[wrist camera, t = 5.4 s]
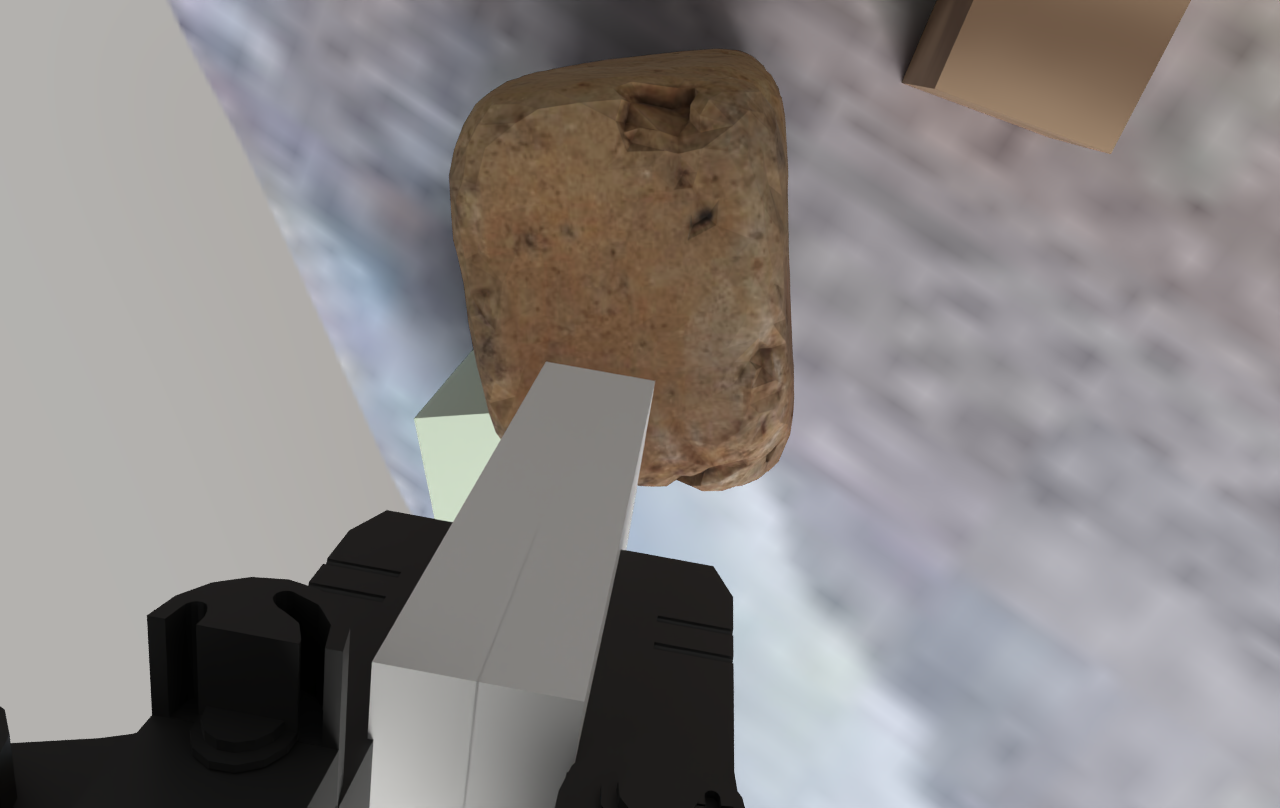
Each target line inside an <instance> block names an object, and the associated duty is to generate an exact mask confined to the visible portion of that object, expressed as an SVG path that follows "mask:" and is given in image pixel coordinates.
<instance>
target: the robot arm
mask: <svg viewBox="0 0 1280 808" xmlns="http://www.w3.org/2000/svg"><path fill="white" fill-rule="evenodd" d="M654 385H655V381H652V380H647V379H641V378H635V377H630V376H624V375H618V374H613V373H607V372H602V371H596V370H590V369H585V368H579V367H573V366H568V365H562V364H556V363H551V362H545V364H544V366H543V368H542V369H541V371H540V373H539V375H538V376H537V378H536V380H535V381H534V383H533V385H532V387H531V388H530V390H529V392H528V394H527V395H526V397H525V399H524V400H523V402H522V404H521V406H520V407H519V409H518V411H517V413H516V414H515V416H514V418H513V419H512V421H511V423H510V425H509V426H508V428H507V430H506V432H505V433H504V435H503V437H502V438H501V440H500V442H499V444H498V445H497V447H496V449H495V450H494V452H493V454H492V456H491V457H490V459H489V461H488V463H487V464H486V466H485V468H484V469H483V471H482V473H481V475H480V476H479V478H478V480H477V482H476V483H475V485H474V487H473V488H472V490H471V492H470V494H469V495H468V497H467V499H466V501H465V502H464V504H463V506H462V507H461V509H460V511H459V513H458V514H457V516H456V518H455V520H454V521H453V522H448V521H443V520H438V519H432V518H427V517H421V516H416V515H410V514H404V513H399V512H393V511H388V510H387V511H385V512H383V513H381V514H379V515H377V516H375V517H374V518H372V519H370V520H368V521H366V522H364V523H362V524H360V525H359V526H357V527H355V528H353V529H351V530H350V531H349V532H348V533H347V534H346V535H345V537H344V538H343V539H342V540H341V542H340V543H339V544H338V546H337V547H336V548H335V549H334V551H333V552H332V553H331V555H330V556H329V557H328V559H327V563H326V564H323V565H322V566H321V567H320V569H319V570H318V571H317V572H316V574H315V575H314V577H313V578H312V579H311V580H310V581H309V585H308V586H307V585H304V584H301V583H298V582H295V581H292V580H287V579H272V578H256V577H249V578H241V579H234V580H227V581H220V582H213V583H210V584H207V585H204V586H201V587H198V588H196V589H193V590H190V591H187V592H184V593H182V594H179V595H176V596H174V597H173V598H172V599H170V600H169V601H167V602H166V603H164V604H163V605H161V606H160V607H159V608H157V609H156V610H154V611H153V612H151V613H150V614H149V615H147V624H148V644H149V663H150V682H151V701H152V716H151V717H150V718H149V719H148V720H147V722H146V723H145V724H144V725H143V726H142V727H141V729H140V730H139V731H138V732H137V733H134V734H129V735H121V736H113V737H106V738H96V739H78V740H61V741H43V742H26V743H10V735H9V730H8V725H7V719H6V714H5V710H4V709H3V708H2V707H0V808H745V807H744V803H743V799H742V797H741V795H740V794H739V793H738V792H737V786H736V780H735V774H734V679H733V663H732V662H733V636H732V633H733V596H732V595H731V593H730V592H729V590H728V589H727V587H726V585H725V584H724V582H723V581H722V579H721V578H720V576H719V574H718V573H717V571H716V570H715V568H714V567H713V566H709V565H703V564H698V563H692V562H687V561H681V560H676V559H670V558H665V557H659V556H654V555H648V554H643V553H637V552H632V551H626V548H627V542H628V536H629V530H630V525H631V519H632V513H633V507H634V501H635V496H636V490H637V484H638V478H639V472H640V466H641V461H642V455H643V449H644V443H645V437H646V431H647V426H648V420H649V414H650V408H651V402H652V397H653V391H654Z"/></svg>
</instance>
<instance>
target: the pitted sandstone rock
mask: <svg viewBox="0 0 1280 808" xmlns="http://www.w3.org/2000/svg"><path fill="white" fill-rule="evenodd" d="M449 183H450V200H451V216H452V229H453V241H454V244H455V248H456V252H457V256H458V260H459V265H460V269H461V274H462V278H463V282H464V290H465V298H466V306H467V314H468V323H469V328H470V333H471V338H472V344H473V349H474V354H475V359H476V365H477V369H478V372H479V376H480V379H481V383H482V387H483V391H484V395H485V399H486V403H487V407H488V411H489V415H490V418H491V421H492V423H493V426H494V429H495V432H496V434H497V435H498V436H499V438H500V439H501V438H502V437H503V435H504V433H505V432H506V430H507V428H508V426H509V425H510V423H511V421H512V419H513V418H514V416H515V414H516V413H517V411H518V409H519V407H520V406H521V404H522V402H523V400H524V399H525V397H526V395H527V394H528V392H529V390H530V388H531V387H532V385H533V383H534V381H535V380H536V378H537V376H538V375H539V373H540V371H541V369H542V368H543V366H544V364H545V362H551V363H556V364H562V365H568V366H573V367H579V368H585V369H590V370H596V371H602V372H607V373H613V374H618V375H624V376H630V377H635V378H641V379H647V380H652V381H655V385H654V391H653V397H652V402H651V408H650V414H649V420H648V426H647V431H646V437H645V443H644V449H643V455H642V461H641V466H640V472H639V478H638V484H637V485H638V486H668V485H669V484H670V483H672V482H673V481H675V480H678V481H681V482H683V483H685V484H688V485H690V486H692V487H695V488H697V489H699V490H701V491H723V490H726V489H729V488H732V487H735V486H742V485H745V484H747V483H750V482H752V481H754V480H757V479H759V478H760V477H761V476H762V475H764V474H765V473H766V472H767V471H769V470H770V469H771V468H772V467H773V466H774V465H775V464H776V463H777V462H778V461H779V459H780V457H781V454H782V452H783V450H784V447H785V445H786V443H787V440H788V438H789V436H790V431H791V424H792V418H793V407H794V364H793V351H792V327H791V302H790V267H789V233H788V194H787V192H788V159H787V142H786V125H785V114H784V108H783V103H782V98H781V96H780V92H779V88H778V86H777V85H776V83H775V81H774V79H773V78H772V76H771V74H769V73H768V72H767V71H766V69H765V67H764V66H763V65H762V64H761V63H760V62H759V61H757V60H756V59H755V58H754V57H753V56H751V55H749V54H747V53H744V52H742V51H737V50H728V49H704V50H692V51H680V52H671V53H662V54H653V55H645V56H636V57H627V58H618V59H608V60H602V61H596V62H590V63H583V64H578V65H572V66H566V67H562V68H557V69H551V70H547V71H541V72H535V73H532V74H528V75H525V76H522V77H520V78H517V79H513V80H510V81H507V82H506V83H504V84H502V85H501V86H499V87H497V88H496V89H494V90H493V91H491V92H490V93H488V94H487V95H486V96H485V97H483V98H482V99H481V100H480V101H479V102H478V103H477V104H476V105H475V106H474V108H473V110H472V111H471V113H470V115H469V116H468V118H467V120H466V121H465V123H464V125H463V127H462V130H461V133H460V135H459V138H458V141H457V143H456V146H455V149H454V153H453V158H452V163H451V168H450V173H449Z"/></svg>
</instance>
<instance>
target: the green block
mask: <svg viewBox="0 0 1280 808" xmlns="http://www.w3.org/2000/svg"><path fill="white" fill-rule="evenodd" d="M414 421H415V425H416V430H417V435H418V440H419V445H420V450H421V455H422V459H423V464H424V469H425V474H426V479H427V484H428V489H429V494H430V498H431V503H432V508H433V513H434V518H435V519H438V520H443V521H448V522H453V521H454V520H455V518H456V516H457V514H458V513H459V511H460V509H461V507H462V506H463V504H464V502H465V501H466V499H467V497H468V495H469V494H470V492H471V490H472V488H473V487H474V485H475V483H476V482H477V480H478V478H479V476H480V475H481V473H482V471H483V469H484V468H485V466H486V464H487V463H488V461H489V459H490V457H491V456H492V454H493V452H494V450H495V449H496V447H497V445H498V444H499V442H500V440H501V439H500V438H499V436H498V435H497V434H496V432H495V429H494V426H493V423H492V421H491V418H490V415H489V411H488V407H487V403H486V399H485V395H484V391H483V387H482V383H481V379H480V376H479V372H478V369H477V365H476V359H475V354H474V350H472V351H471V352H470V353H469V355H468V356H467V357H466V358H465V359H464V360H463V362H462V363H461V364H460V365H459V366H458V367H457V369H456V370H455V371H454V372H453V373H452V375H451V376H450V377H449V378H448V379H447V380H446V382H445V383H444V384H443V385H442V386H441V387H440V389H439V390H438V391H437V392H436V393H435V394H434V396H433V397H432V398H431V399H430V400H429V402H428V403H427V404H426V405H425V406H424V407H423V409H422V410H421V411H420V412H419V413H418V414H417V416H416V417H415V418H414Z"/></svg>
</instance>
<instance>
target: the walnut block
mask: <svg viewBox="0 0 1280 808" xmlns="http://www.w3.org/2000/svg"><path fill="white" fill-rule="evenodd" d="M1190 1H1191V0H937V1H936V3H935V6H934V8H933V10H932V13H931V15H930V17H929V20H928V22H927V24H926V27H925V29H924V31H923V34H922V36H921V39H920V41H919V43H918V46H917V48H916V50H915V53H914V55H913V57H912V60H911V62H910V64H909V67H908V69H907V71H906V74H905V76H904V79H903V81H902V83H904V84H906V85H909V86H912V87H914V88H917V89H920V90H922V91H925V92H928V93H931V94H933V95H936V96H939V97H941V98H944V99H947V100H950V101H952V102H955V103H958V104H960V105H963V106H966V107H968V108H971V109H974V110H977V111H979V112H982V113H985V114H987V115H990V116H993V117H995V118H998V119H1001V120H1004V121H1006V122H1009V123H1012V124H1014V125H1017V126H1020V127H1023V128H1025V129H1028V130H1031V131H1033V132H1036V133H1039V134H1041V135H1044V136H1047V137H1050V138H1053V139H1057V140H1060V141H1064V142H1068V143H1071V144H1075V145H1079V146H1083V147H1086V148H1090V149H1094V150H1097V151H1101V152H1105V153H1108V154H1111V153H1112V151H1113V149H1114V147H1115V145H1116V143H1117V141H1118V139H1119V137H1120V135H1121V133H1122V132H1123V130H1124V128H1125V126H1126V124H1127V122H1128V120H1129V118H1130V116H1131V114H1132V112H1133V110H1134V109H1135V107H1136V105H1137V103H1138V101H1139V99H1140V97H1141V95H1142V93H1143V91H1144V89H1145V87H1146V85H1147V84H1148V82H1149V80H1150V78H1151V76H1152V74H1153V72H1154V70H1155V68H1156V66H1157V64H1158V62H1159V61H1160V59H1161V57H1162V55H1163V53H1164V51H1165V49H1166V47H1167V45H1168V43H1169V41H1170V39H1171V38H1172V36H1173V34H1174V32H1175V30H1176V28H1177V26H1178V24H1179V22H1180V20H1181V18H1182V16H1183V15H1184V13H1185V11H1186V9H1187V7H1188V5H1189V3H1190Z"/></svg>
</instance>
